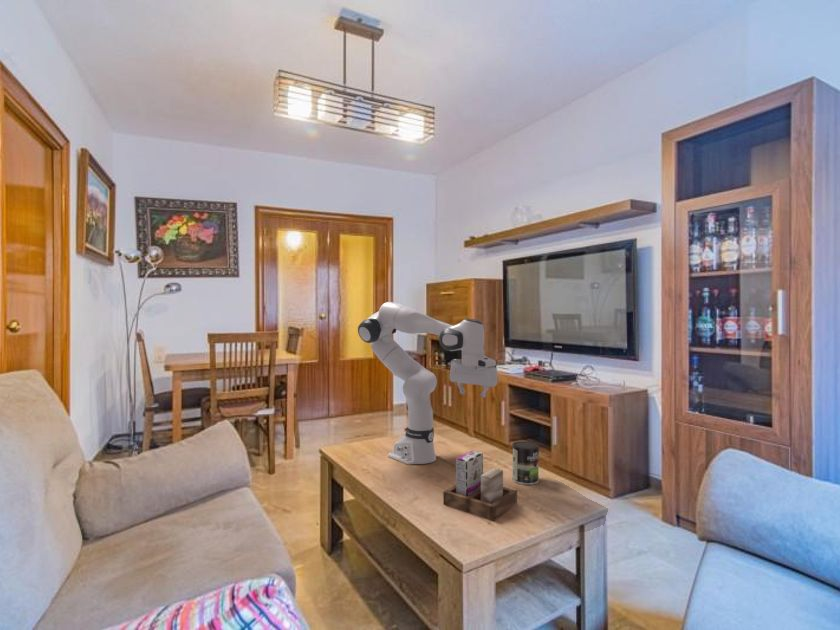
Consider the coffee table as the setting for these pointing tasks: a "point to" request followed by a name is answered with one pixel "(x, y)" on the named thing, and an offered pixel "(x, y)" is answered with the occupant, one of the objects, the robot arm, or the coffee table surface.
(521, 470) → the coffee can
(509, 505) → the tray
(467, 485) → the candy bar box
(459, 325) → the robot arm
